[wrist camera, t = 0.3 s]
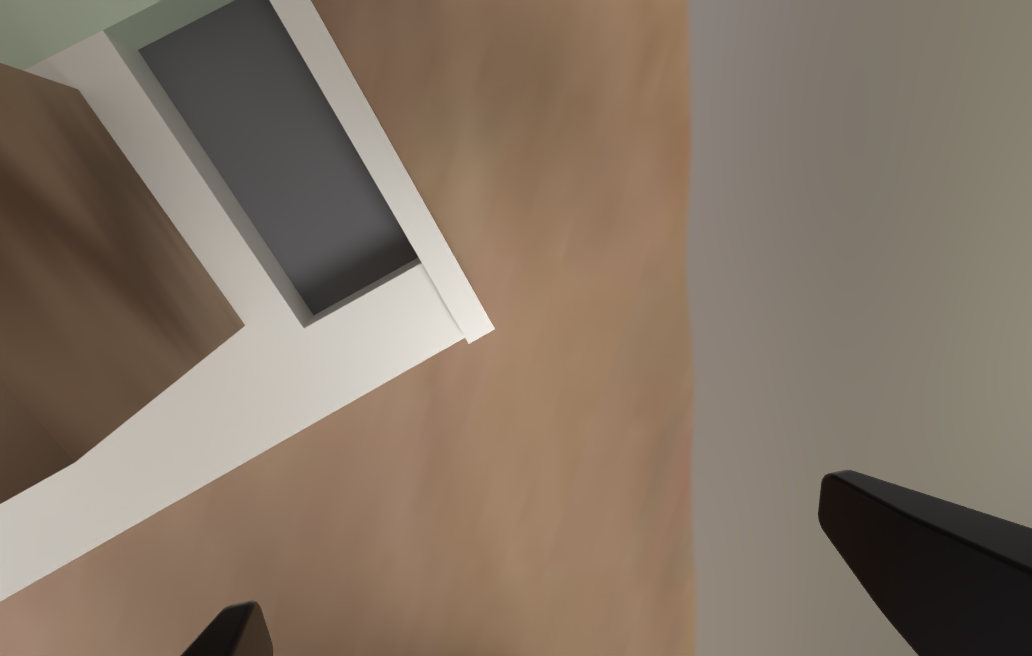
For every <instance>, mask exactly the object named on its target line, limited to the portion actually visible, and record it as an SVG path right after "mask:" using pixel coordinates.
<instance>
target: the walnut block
mask: <svg viewBox="0 0 1032 656" xmlns="http://www.w3.org/2000/svg"><path fill="white" fill-rule="evenodd" d="M244 326H245V324H244V323H243V321H242V320H241V319H240V317H239V316H238V314H237V313H236V312H235V310H234V309H233V307H232V306H231V304H230V303H229V302H228V300H227V299H226V297H225V296H224V295H223V293H222V292H221V290H220V289H219V287H218V286H217V285H216V283H215V282H214V280H213V279H212V278H211V276H210V275H209V273H208V272H207V271H206V269H205V268H204V266H203V265H202V263H201V262H200V261H199V259H198V258H197V256H196V255H195V254H194V252H193V251H192V249H191V248H190V247H189V245H188V244H187V242H186V241H185V239H184V238H183V237H182V235H181V234H180V232H179V231H178V230H177V228H176V227H175V225H174V224H173V222H172V221H171V220H170V218H169V217H168V215H167V214H166V213H165V211H164V210H163V208H162V207H161V206H160V204H159V203H158V201H157V200H156V198H155V197H154V196H153V194H152V193H151V191H150V190H149V189H148V187H147V186H146V184H145V183H144V182H143V180H142V179H141V177H140V176H139V174H138V173H137V172H136V170H135V169H134V167H133V166H132V165H131V163H130V162H129V160H128V159H127V157H126V156H125V155H124V153H123V152H122V150H121V149H120V148H119V146H118V145H117V143H116V142H115V141H114V139H113V138H112V136H111V135H110V133H109V132H108V131H107V129H106V128H105V126H104V125H103V124H102V122H101V121H100V119H99V118H98V117H97V115H96V114H95V112H94V111H93V109H92V108H91V107H90V105H89V104H88V102H87V101H86V100H85V98H84V97H83V95H82V94H81V92H80V91H79V90H78V89H76V88H73V87H70V86H67V85H64V84H61V83H58V82H55V81H52V80H49V79H46V78H43V77H40V76H38V75H35V74H32V73H29V72H26V71H23V70H20V69H17V68H14V67H11V66H8V65H5V64H2V63H0V504H1V503H3V502H5V501H7V500H9V499H10V498H12V497H14V496H16V495H18V494H19V493H21V492H23V491H25V490H27V489H28V488H30V487H32V486H34V485H36V484H37V483H39V482H41V481H43V480H44V479H46V478H48V477H50V476H52V475H53V474H55V473H57V472H59V471H61V470H62V469H64V468H66V467H68V466H70V465H71V464H73V463H75V462H76V461H78V460H79V459H80V458H81V457H82V456H84V455H85V454H86V453H87V452H89V451H90V450H91V449H92V448H94V447H95V446H96V445H97V444H99V443H100V442H101V441H102V440H104V439H105V438H106V437H107V436H109V435H110V434H111V433H112V432H114V431H115V430H116V429H117V428H119V427H120V426H121V425H122V424H124V423H125V422H126V421H127V420H129V419H130V418H131V417H132V416H133V415H135V414H136V413H137V412H138V411H140V410H141V409H142V408H143V407H145V406H146V405H147V404H148V403H150V402H151V401H152V400H153V399H155V398H156V397H157V396H158V395H160V394H161V393H162V392H163V391H165V390H166V389H167V388H168V387H170V386H171V385H172V384H173V383H175V382H176V381H177V380H178V379H180V378H181V377H182V376H183V375H185V374H186V373H187V372H188V371H189V370H191V369H192V368H193V367H194V366H196V365H197V364H198V363H199V362H201V361H202V360H203V359H204V358H206V357H207V356H208V355H209V354H211V353H212V352H213V351H214V350H216V349H217V348H218V347H219V346H221V345H222V344H223V343H224V342H226V341H227V340H228V339H229V338H231V337H232V336H233V335H234V334H236V333H237V332H238V331H239V330H240V329H242V328H243V327H244Z"/></svg>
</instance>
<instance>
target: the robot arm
mask: <svg viewBox="0 0 1032 656" xmlns="http://www.w3.org/2000/svg"><path fill="white" fill-rule="evenodd" d="M818 518H819V522H820V525H821V527H822V529H823V531H824V532H825V534H826V535H827V536H828V538H829V539H830V541H831V542H832V544H833V545H834V546H835V548H836V549H837V551H838V552H839V553H840V555H841V556H842V558H843V559H844V560H845V562H846V563H847V564H848V566H849V567H850V568H851V570H852V571H853V573H854V574H855V576H856V577H857V578H858V580H859V581H860V582H861V584H862V586H863V587H864V588H865V590H866V591H867V593H868V594H869V595H870V597H871V598H872V599H873V601H874V602H875V603H876V605H877V606H878V607H879V608H880V610H881V611H882V613H883V614H884V615H885V616H886V618H887V619H888V620H889V621H890V623H891V624H892V625H893V626H894V627H895V629H896V630H897V631H898V632H899V633H900V634H901V636H902V637H903V638H904V639H905V640H906V641H907V642H908V644H909V645H910V646H911V647H912V649H913V650H914V651H915V652H916V653H917V654H918V656H1032V528H1029V527H1026V526H1023V525H1020V524H1017V523H1014V522H1010V521H1007V520H1004V519H1001V518H998V517H995V516H991V515H989V514H985V513H983V512H979V511H976V510H973V509H970V508H967V507H964V506H961V505H958V504H955V503H951V502H948V501H945V500H942V499H939V498H936V497H933V496H930V495H926V494H924V493H920V492H917V491H914V490H911V489H908V488H905V487H901V486H899V485H896V484H893V483H889V482H886V481H883V480H880V479H877V478H874V477H871V476H867V475H864V474H861V473H858V472H855V471H852V470H842V471H838V472H834V473H829V474H827V475H825V476H824V478H823V479H822V482H821V491H820V500H819V509H818ZM181 656H273V646H272V641H271V638H270V635H269V632H268V629H267V626H266V622H265V619H264V616H263V613H262V610H261V607H260V605H259V604H258V603H257V602H255V601H248V602H243V603H239V604H234V605H230V606H227V607H226V608H224V609H223V610H222V611H221V612H220V613H219V614H218V615H217V616H216V617H215V618H214V619H213V621H212V622H211V623H210V624H209V625H208V626H207V627H206V628H205V629H204V630H203V632H202V633H201V634H200V635H199V636H198V637H197V638H196V639H195V640H194V641H193V642H192V644H191V645H190V646H189V647H188V648H187V649H186V650H185V651H184V652H183V653H182V655H181Z"/></svg>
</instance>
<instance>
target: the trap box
mask: <svg viewBox="0 0 1032 656" xmlns="http://www.w3.org/2000/svg"><path fill="white" fill-rule="evenodd" d="M0 63H2V64H5V65H8V66H11V67H14V68H17V69H20V70H23V71H26V72H29V73H32V74H35V75H38V76H40V77H43V78H46V79H49V80H52V81H55V82H58V83H61V84H64V85H67V86H70V87H73V88H76V89H78V90H79V91H80V92H81V94H82V95H83V97H84V98H85V100H86V101H87V102H88V104H89V105H90V107H91V108H92V109H93V111H94V112H95V114H96V115H97V117H98V118H99V119H100V121H101V122H102V124H103V125H104V126H105V128H106V129H107V131H108V132H109V133H110V135H111V136H112V138H113V139H114V141H115V142H116V143H117V145H118V146H119V148H120V149H121V150H122V152H123V153H124V155H125V156H126V157H127V159H128V160H129V162H130V163H131V165H132V166H133V167H134V169H135V170H136V172H137V173H138V174H139V176H140V177H141V179H142V180H143V182H144V183H145V184H146V186H147V187H148V189H149V190H150V191H151V193H152V194H153V196H154V197H155V198H156V200H157V201H158V203H159V204H160V206H161V207H162V208H163V210H164V211H165V213H166V214H167V215H168V217H169V218H170V220H171V221H172V222H173V224H174V225H175V227H176V228H177V230H178V231H179V232H180V234H181V235H182V237H183V238H184V239H185V241H186V242H187V244H188V245H189V247H190V248H191V249H192V251H193V252H194V254H195V255H196V256H197V258H198V259H199V261H200V262H201V263H202V265H203V266H204V268H205V269H206V271H207V272H208V273H209V275H210V276H211V278H212V279H213V280H214V282H215V283H216V285H217V286H218V287H219V289H220V290H221V292H222V293H223V295H224V296H225V297H226V299H227V300H228V302H229V303H230V304H231V306H232V307H233V309H234V310H235V312H236V313H237V314H238V316H239V317H240V319H241V320H242V321H243V323H244V324H245V326H244V327H243V328H242V329H240V330H239V331H238V332H237V333H236V334H234V335H233V336H232V337H231V338H229V339H228V340H227V341H226V342H224V343H223V344H222V345H221V346H219V347H218V348H217V349H216V350H214V351H213V352H212V353H211V354H209V355H208V356H207V357H206V358H204V359H203V360H202V361H201V362H199V363H198V364H197V365H196V366H194V367H193V368H192V369H191V370H189V371H188V372H187V373H186V374H185V375H183V376H182V377H181V378H180V379H178V380H177V381H176V382H175V383H173V384H172V385H171V386H170V387H168V388H167V389H166V390H165V391H163V392H162V393H161V394H160V395H158V396H157V397H156V398H155V399H153V400H152V401H151V402H150V403H148V404H147V405H146V406H145V407H143V408H142V409H141V410H140V411H138V412H137V413H136V414H135V415H133V416H132V417H131V418H130V419H129V420H127V421H126V422H125V423H124V424H122V425H121V426H120V427H119V428H117V429H116V430H115V431H114V432H112V433H111V434H110V435H109V436H107V437H106V438H105V439H104V440H102V441H101V442H100V443H99V444H97V445H96V446H95V447H94V448H92V449H91V450H90V451H89V452H87V453H86V454H85V455H84V456H82V457H81V458H80V459H79V460H78V461H76V462H75V463H73V464H71V465H70V466H68V467H66V468H64V469H62V470H61V471H59V472H57V473H55V474H53V475H52V476H50V477H48V478H46V479H44V480H43V481H41V482H39V483H37V484H36V485H34V486H32V487H30V488H28V489H27V490H25V491H23V492H21V493H19V494H18V495H16V496H14V497H12V498H10V499H9V500H7V501H5V502H3V503H1V504H0V601H2V600H4V599H6V598H7V597H9V596H11V595H13V594H14V593H16V592H18V591H20V590H21V589H23V588H25V587H27V586H28V585H30V584H32V583H34V582H35V581H37V580H39V579H41V578H42V577H44V576H46V575H48V574H50V573H51V572H53V571H55V570H57V569H58V568H60V567H62V566H64V565H65V564H67V563H69V562H71V561H72V560H74V559H76V558H78V557H79V556H81V555H83V554H85V553H86V552H88V551H90V550H92V549H94V548H95V547H97V546H99V545H101V544H102V543H104V542H106V541H108V540H109V539H111V538H113V537H115V536H116V535H118V534H120V533H122V532H123V531H125V530H127V529H129V528H130V527H132V526H134V525H136V524H138V523H139V522H141V521H143V520H145V519H146V518H148V517H150V516H152V515H153V514H155V513H157V512H159V511H160V510H162V509H164V508H166V507H167V506H169V505H171V504H173V503H174V502H176V501H178V500H180V499H181V498H183V497H185V496H187V495H189V494H190V493H192V492H194V491H196V490H197V489H199V488H201V487H203V486H204V485H206V484H208V483H210V482H211V481H213V480H215V479H217V478H218V477H220V476H222V475H224V474H225V473H227V472H229V471H231V470H233V469H234V468H236V467H238V466H240V465H241V464H243V463H245V462H247V461H248V460H250V459H252V458H254V457H255V456H257V455H259V454H261V453H262V452H264V451H266V450H268V449H269V448H271V447H273V446H275V445H277V444H278V443H280V442H282V441H284V440H285V439H287V438H289V437H291V436H292V435H294V434H296V433H298V432H299V431H301V430H303V429H305V428H306V427H308V426H310V425H312V424H313V423H315V422H317V421H319V420H320V419H322V418H324V417H326V416H328V415H329V414H331V413H333V412H335V411H336V410H338V409H340V408H342V407H343V406H345V405H347V404H349V403H350V402H352V401H354V400H356V399H357V398H359V397H361V396H363V395H364V394H366V393H368V392H370V391H372V390H373V389H375V388H377V387H379V386H380V385H382V384H384V383H386V382H387V381H389V380H391V379H393V378H394V377H396V376H398V375H400V374H401V373H403V372H405V371H407V370H408V369H410V368H412V367H414V366H415V365H417V364H419V363H421V362H423V361H424V360H426V359H428V358H430V357H431V356H433V355H435V354H437V353H438V352H440V351H442V350H444V349H445V348H447V347H449V346H451V345H452V344H454V343H456V342H458V341H459V340H461V339H463V338H466V340H467V341H468V343H469V344H470V343H471V342H473V341H475V340H477V339H478V338H480V337H482V336H484V335H485V334H487V333H489V332H491V331H492V330H494V329H495V328H494V327H493V325H492V323H491V321H490V320H489V318H488V316H487V314H486V312H485V311H484V309H483V307H482V305H481V303H480V302H479V300H478V298H477V296H476V295H475V293H474V291H473V289H472V287H471V286H470V284H469V282H468V280H467V278H466V277H465V275H464V273H463V271H462V270H461V268H460V266H459V264H458V262H457V261H456V259H455V257H454V255H453V253H452V252H451V250H450V248H449V246H448V245H447V243H446V241H445V239H444V237H443V236H442V234H441V232H440V230H439V228H438V227H437V225H436V223H435V221H434V220H433V218H432V216H431V214H430V212H429V211H428V209H427V207H426V205H425V203H424V202H423V200H422V198H421V196H420V195H419V193H418V191H417V189H416V187H415V186H414V184H413V182H412V180H411V178H410V177H409V175H408V173H407V171H406V170H405V168H404V166H403V164H402V162H401V161H400V159H399V157H398V155H397V153H396V152H395V150H394V148H393V146H392V145H391V143H390V141H389V139H388V137H387V136H386V134H385V132H384V130H383V128H382V127H381V125H380V123H379V121H378V120H377V118H376V116H375V114H374V112H373V111H372V109H371V107H370V105H369V103H368V102H367V100H366V98H365V96H364V94H363V93H362V91H361V89H360V87H359V86H358V84H357V82H356V80H355V78H354V77H353V75H352V73H351V71H350V69H349V68H348V66H347V64H346V62H345V61H344V59H343V57H342V55H341V53H340V52H339V50H338V48H337V46H336V44H335V43H334V41H333V39H332V37H331V36H330V34H329V32H328V30H327V28H326V27H325V25H324V23H323V21H322V19H321V18H320V16H319V14H318V12H317V11H316V9H315V7H314V5H313V3H312V2H311V0H0Z"/></svg>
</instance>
